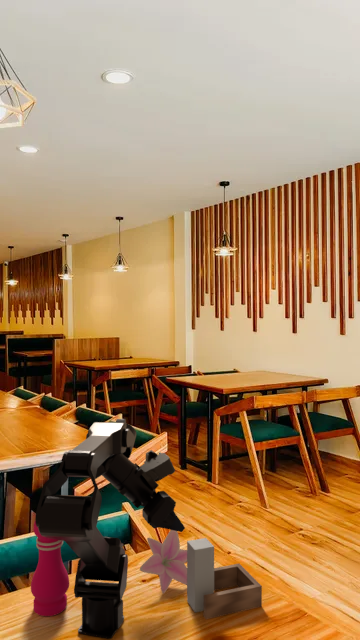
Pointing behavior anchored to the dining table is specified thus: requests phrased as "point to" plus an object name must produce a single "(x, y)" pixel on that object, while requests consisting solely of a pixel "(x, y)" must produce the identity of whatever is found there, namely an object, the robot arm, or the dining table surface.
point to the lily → (167, 560)
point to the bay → (232, 592)
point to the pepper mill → (49, 577)
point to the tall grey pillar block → (199, 572)
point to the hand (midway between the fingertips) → (175, 520)
